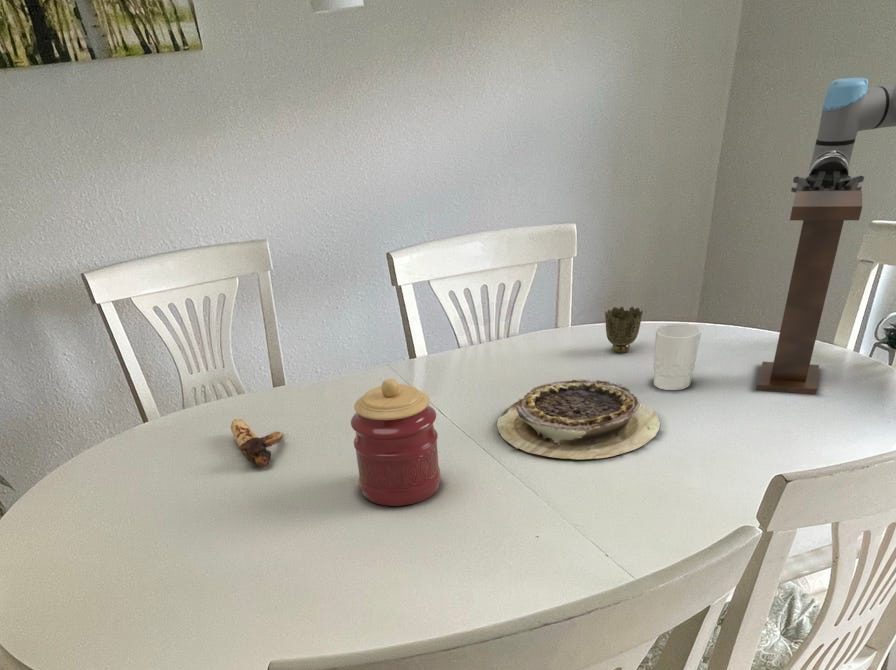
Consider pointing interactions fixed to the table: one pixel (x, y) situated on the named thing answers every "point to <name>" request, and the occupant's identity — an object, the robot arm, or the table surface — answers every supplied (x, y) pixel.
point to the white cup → (675, 355)
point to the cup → (622, 327)
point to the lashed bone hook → (254, 442)
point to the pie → (578, 420)
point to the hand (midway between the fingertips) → (824, 201)
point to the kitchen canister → (396, 445)
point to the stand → (808, 288)
